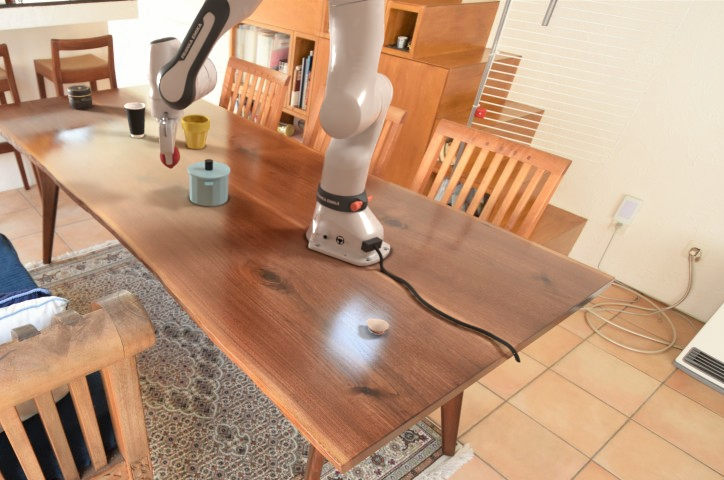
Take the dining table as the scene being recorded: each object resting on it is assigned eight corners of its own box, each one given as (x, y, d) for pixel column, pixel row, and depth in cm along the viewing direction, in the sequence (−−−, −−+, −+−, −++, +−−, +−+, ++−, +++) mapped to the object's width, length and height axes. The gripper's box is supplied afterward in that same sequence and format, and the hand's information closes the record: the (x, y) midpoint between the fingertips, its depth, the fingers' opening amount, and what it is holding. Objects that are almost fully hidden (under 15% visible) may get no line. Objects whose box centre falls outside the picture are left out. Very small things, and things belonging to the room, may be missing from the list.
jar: (86, 102, 220) (83, 83, 215) (97, 107, 215) (94, 88, 210) (66, 105, 216) (62, 86, 210) (76, 111, 210) (73, 92, 205)
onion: (177, 173, 139) (176, 144, 134) (158, 171, 140) (155, 143, 135) (182, 165, 144) (181, 137, 139) (164, 164, 145) (162, 136, 139)
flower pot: (214, 149, 180) (214, 121, 173) (187, 152, 177) (186, 124, 170) (204, 140, 187) (204, 113, 180) (178, 142, 184) (177, 115, 177)
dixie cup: (151, 136, 188) (149, 106, 181) (133, 140, 185) (130, 109, 177) (141, 130, 193) (139, 101, 186) (123, 134, 189) (120, 104, 182)
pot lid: (229, 164, 148) (229, 152, 146) (230, 181, 139) (231, 169, 136) (188, 164, 148) (187, 152, 146) (186, 181, 138) (186, 168, 136)
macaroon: (377, 340, 100) (380, 330, 98) (358, 327, 103) (361, 317, 101) (390, 332, 102) (394, 323, 100) (372, 320, 105) (375, 310, 103)
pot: (227, 186, 155) (227, 160, 150) (228, 210, 142) (229, 183, 137) (190, 186, 155) (189, 159, 149) (188, 210, 142) (188, 182, 136)
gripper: (176, 119, 123) (179, 172, 132) (180, 97, 139) (182, 146, 148) (151, 119, 123) (156, 172, 132) (158, 97, 139) (161, 146, 148)
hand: (170, 159), depth 140 cm, fingers closed on onion, 6 cm apart
